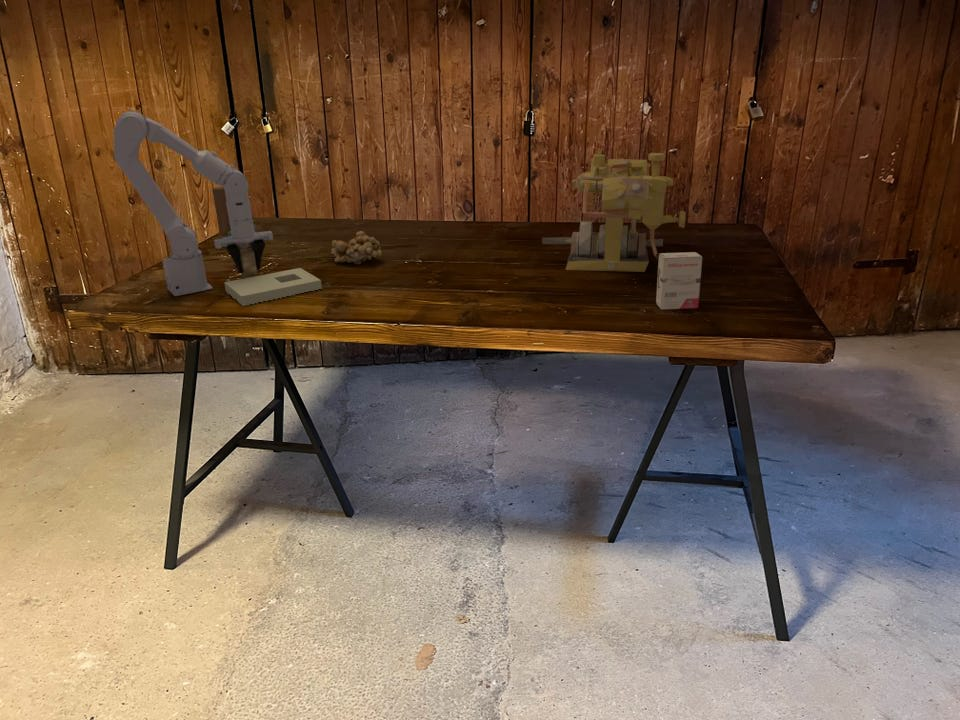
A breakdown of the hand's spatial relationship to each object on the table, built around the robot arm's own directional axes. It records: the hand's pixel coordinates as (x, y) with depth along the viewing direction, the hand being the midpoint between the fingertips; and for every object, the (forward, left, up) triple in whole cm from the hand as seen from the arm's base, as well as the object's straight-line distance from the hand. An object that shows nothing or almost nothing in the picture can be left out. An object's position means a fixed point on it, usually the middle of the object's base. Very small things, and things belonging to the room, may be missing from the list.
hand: (249, 270), depth 188 cm
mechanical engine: (+83, -48, -3) cm, 96 cm away
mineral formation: (+31, -2, -3) cm, 31 cm away
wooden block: (+9, +40, -3) cm, 41 cm away
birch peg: (0, 0, -3) cm, 3 cm away
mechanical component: (+5, +19, -3) cm, 20 cm away
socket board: (+2, -12, -3) cm, 13 cm away
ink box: (+71, -82, -3) cm, 109 cm away
